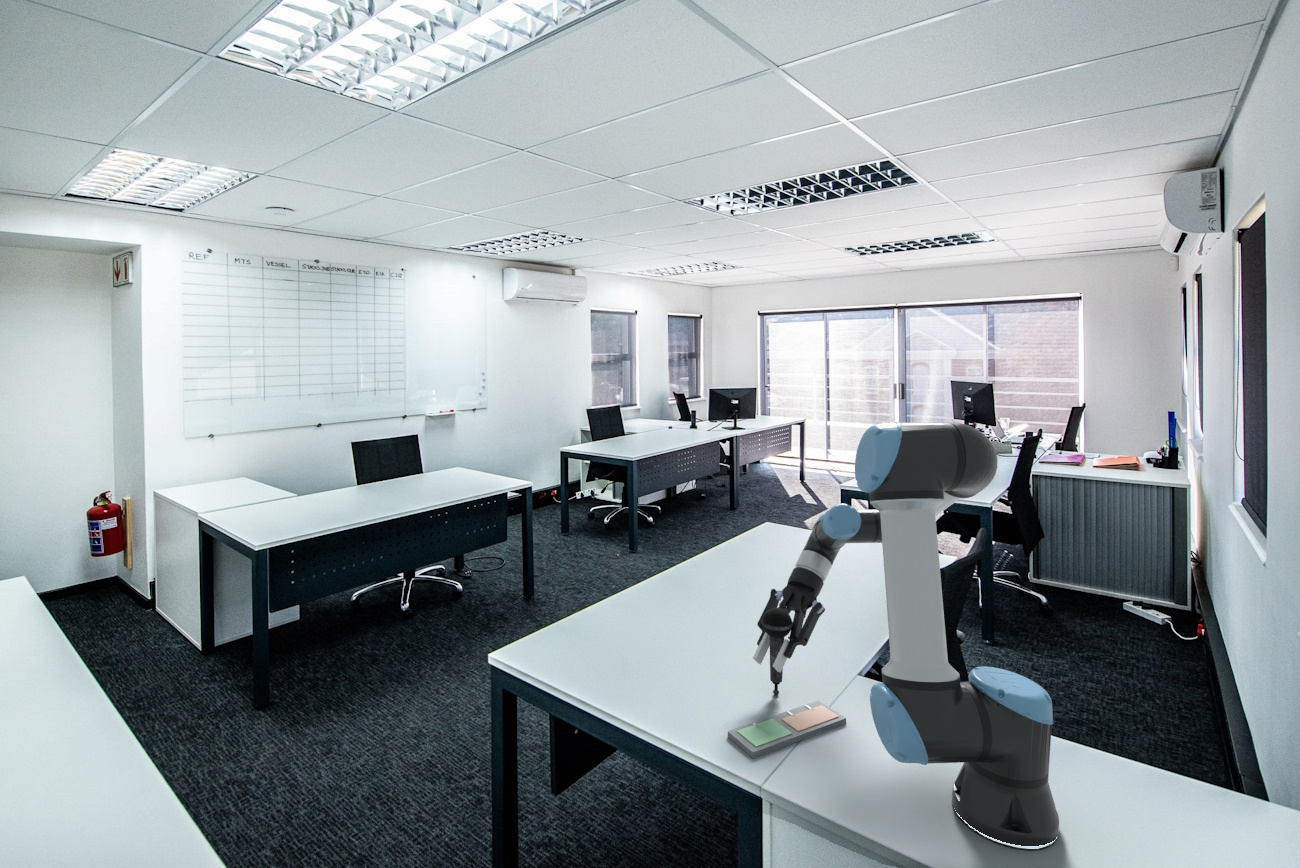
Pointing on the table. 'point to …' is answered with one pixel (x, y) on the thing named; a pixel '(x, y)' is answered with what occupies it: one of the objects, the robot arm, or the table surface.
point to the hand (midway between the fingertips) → (766, 665)
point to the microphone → (776, 638)
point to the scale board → (785, 728)
